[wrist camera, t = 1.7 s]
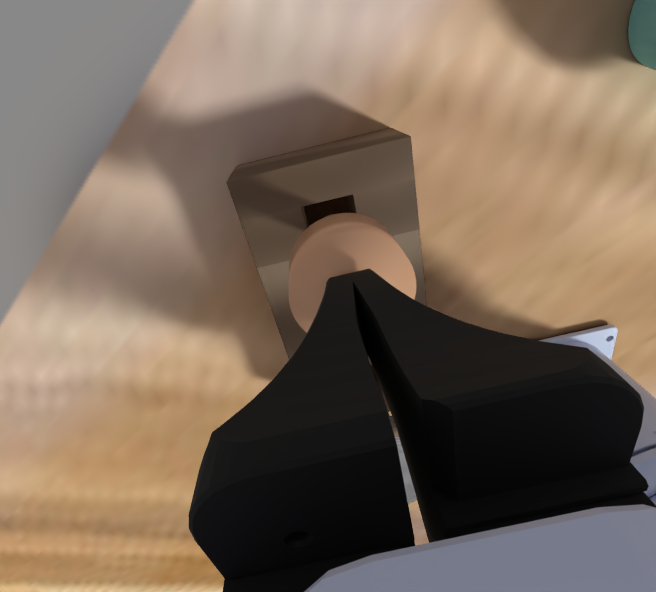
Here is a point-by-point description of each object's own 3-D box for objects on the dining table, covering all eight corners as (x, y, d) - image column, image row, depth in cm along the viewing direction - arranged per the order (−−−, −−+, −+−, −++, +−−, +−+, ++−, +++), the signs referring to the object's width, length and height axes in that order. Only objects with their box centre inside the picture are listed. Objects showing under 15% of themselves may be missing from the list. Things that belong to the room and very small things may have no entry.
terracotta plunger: (382, 258, 18) (421, 331, 12) (301, 277, 18) (306, 357, 13) (369, 174, 16) (409, 219, 10) (278, 196, 16) (272, 252, 11)
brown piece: (419, 365, 27) (435, 401, 24) (311, 389, 27) (313, 428, 24) (390, 127, 18) (410, 136, 15) (236, 166, 19) (226, 181, 16)
